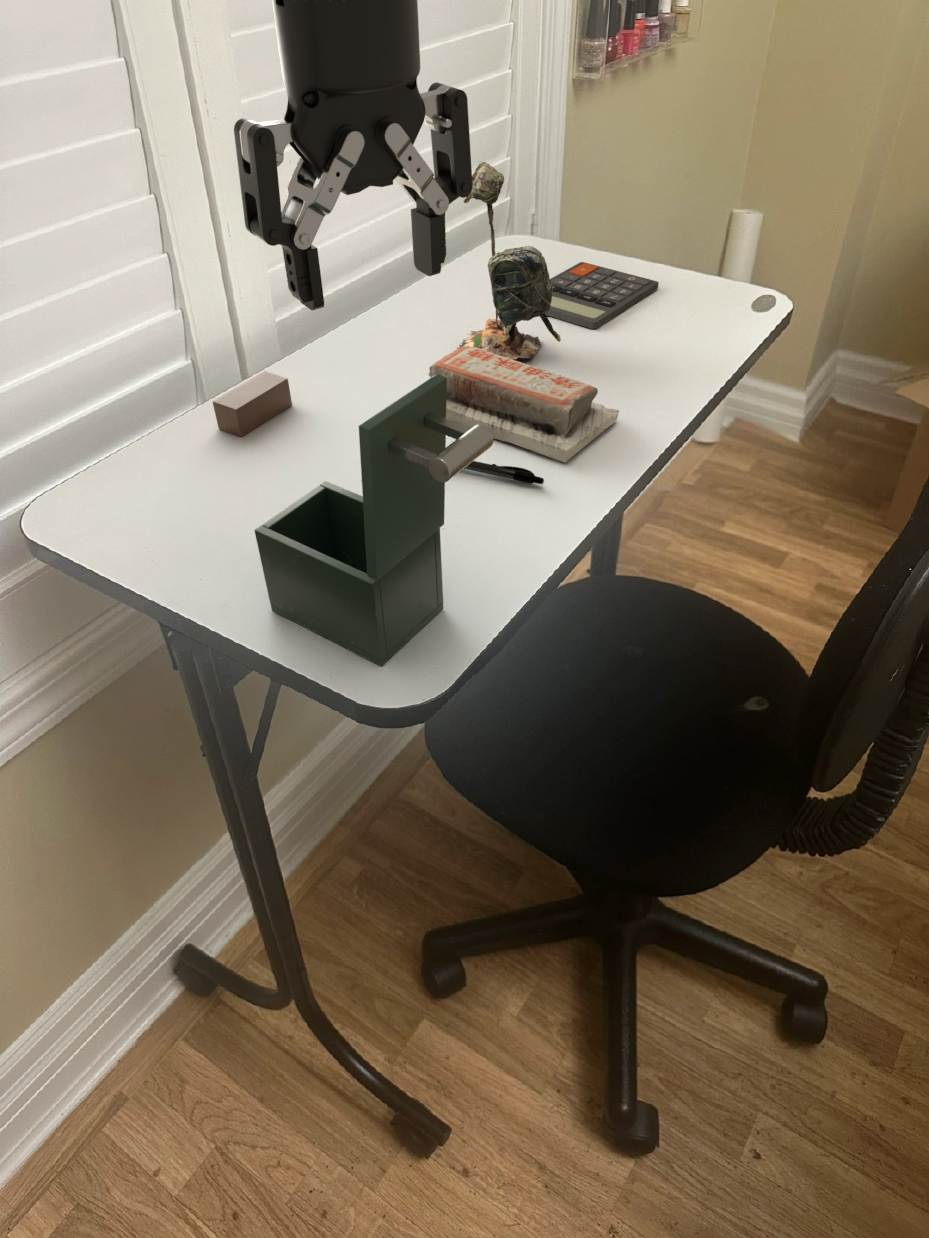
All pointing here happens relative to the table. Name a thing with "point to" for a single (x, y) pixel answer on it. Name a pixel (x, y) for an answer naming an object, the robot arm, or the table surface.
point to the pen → (506, 472)
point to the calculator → (595, 294)
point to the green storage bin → (346, 576)
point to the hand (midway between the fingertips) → (371, 288)
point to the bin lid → (411, 471)
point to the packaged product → (521, 402)
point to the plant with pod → (510, 284)
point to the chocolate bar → (252, 403)
